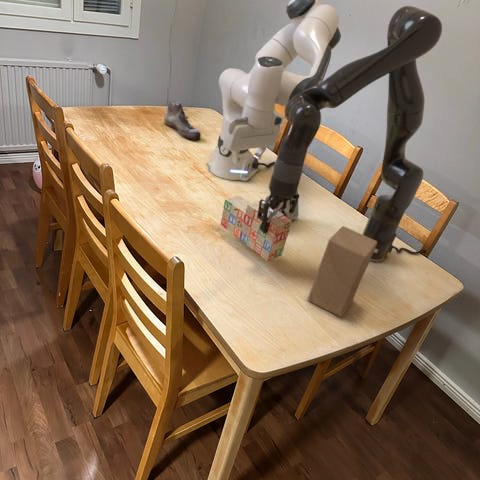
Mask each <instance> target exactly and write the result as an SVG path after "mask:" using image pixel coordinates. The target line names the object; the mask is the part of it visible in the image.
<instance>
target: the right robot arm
mask: <svg viewBox="0 0 480 480" xmlns="http://www.w3.org/2000/svg"><path fill="white" fill-rule="evenodd" d="M442 32H443V24H442V21H441V19H440V18H439V17H438V16H436V15H435V14H433V13H431V12H429V11H426V10H424V9H421V8H419V7H416V6H413V5H404V6H401V7H399V8H398V9H397V10H396V11H395V12H394V13H393V15H392V16H391V18H390V20H389V23H388V27H387V34H386V35H387V36H386V40H387V43H386V44H387V46H386V47H384V48H382V49H380V50H379V51H377V52H374V53H371V54H370V55H366V56H364V57H361V58H357V59H356V60H353V61H350V62H349V63H347V64H345V65H343V66H341V67H340V68H338V69H337V70H336V71H335V72H333V73H332V74H331V75H329V76H328V77H326V78H324V79H323V81H322V82H321V83H320V84H317V85H315V86H312V87H310V88H308V89H306V90H304V91H302V92H300V93H298V94H297V95H295V96H294V97H293V98H292V99H291V100H290V101H289V102H288V103H287V105H286V107H284V117H285V119H286V120H287V121H288V122H289V124H290V125H291V129H290V132H289V134H287V135H284V136H283V137H282V139H281V141H280V145H279V148H278V151H277V157H276V159H275V161H274V162H275V164H273V168H272V171H271V172H272V173H271V177H270V179H269V180H270V181H269V185H268V189H269V195H268V196H269V197H268V199H267V200H265V199H263V198H261V199H260V200H259V201H260V202H259V209H258V215H257V218H259V219H260V220H261V221H262V223H261V227H260V230H261V231H262V232H263V233H267V232H268V229H269V225H270V221H271V219H272V217H273V216H275V215H276V214H277V212H278V211H279V210H280V212H281V213H283V214H284V216H286V217H288V216H289V214H290V213H293V212H294V210H295V207H296V204H297V202H298V203H299V198H300V197H301V195H300V194H299V193H298V194H297V193H296V192H297V190H298V189H299V185H300V182H301V178H302V174H303V171H304V164H305V160H306V157H307V154H308V149H309V147H310V146H311V144H312V143H313V140H314V139H315V137H316V135H317V133H318V131H319V129H320V127H321V124H322V123H321V122H322V113H321V110H323V109H326V108H329V109H336V108H338V107H340V106H341V105H343V104H344V103H345V102H346V101H348V100H349V99H350V98H352V97H353V96H356V94H357V93H359V92H361V90H363V89H365V88H367V87H368V86H369V85H371V84H372V83H374V82H376V81H377V80H379V79H381V78H383V77H385V76H387V75H388V89H387V91H388V93H387V107H386V131H385V132H386V134H385V144H384V152H383V158H382V163H381V164H382V165H381V173H380V174H381V180H382V181H383V183H384V184H385V185H387V186H388V187H390V188H391V189H392V190H394V192H393V194H392V195H391V194H381V195H379V196H377V197H376V200H375V202H374V204H373V207H372V209H371V212H370V215H369V217H368V219H367V222H366V224H365V227H364V229H363V231H362V233H361V234H362V235H364V236H366V237H368V238H371V239H373V240H375V241H377V245H376V247H375V250H374V252H373V254H372V257H371V259H370V261H369V262H375V263H377V262H379V263H380V262H382V261H384V259H387V257H388V254H390V253H392V252H393V249H394V250H395V251H396V252H397V253H401V251H406V252H408V253H410V254H413V255H418V254H420V253H422V252H423V253H426V254H427V250H426V249H423V248H422V249H420V250H418V251H417V250H416V251H412V250H410V249H408V248H405V247H400V248H398V247H396V246H394V245H393V244H394V242H395V239H396V237H397V233H396V232H397V229H398V228H399V225H400V223H401V221H402V219H403V216H404V214H405V212H406V210H407V209H409V207H410V205H411V204H412V202H413V200H414V198H415V196H416V194H417V192H418V190H419V189H420V186H421V184H422V182H423V179H424V176H425V175H424V170H423V167H421V166H419V165H417V164H416V163H414V162H412V161H411V160H409V159H407V158H406V147H407V143H408V141H410V140H411V138H412V137H414V135H415V134H416V133H417V132H418V131H419V129H420V128H421V126H422V125H423V119H424V112H425V101H426V100H425V93H424V89H423V85H422V81H421V78H420V75H419V71H418V67H417V59H419V58H420V57H422V56H425V55H426V54H427V53H429V52H430V51H431V50H432V49H433V48H434V47H435V46H436V45H437V44H438V42H439V41H440V39H441V37H442ZM290 204H291V205H292V207H291V208H290ZM269 208H271V209H273V210H274V211H273V212H272V211H271V210H270V209H269ZM268 213H269V214H270V215H269V217H267V214H268ZM262 214H263V215H262Z"/></svg>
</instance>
